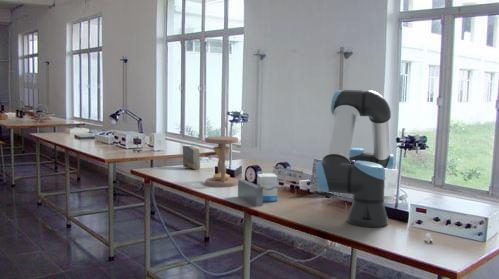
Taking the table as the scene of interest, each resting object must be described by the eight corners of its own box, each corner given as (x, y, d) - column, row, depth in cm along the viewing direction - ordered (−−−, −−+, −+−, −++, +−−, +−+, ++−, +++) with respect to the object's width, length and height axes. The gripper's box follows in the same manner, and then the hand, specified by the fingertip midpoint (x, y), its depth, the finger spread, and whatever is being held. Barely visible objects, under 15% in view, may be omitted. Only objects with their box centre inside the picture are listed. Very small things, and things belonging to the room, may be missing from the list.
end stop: (266, 205, 206) (266, 187, 206) (256, 206, 204) (256, 188, 203) (247, 195, 224) (247, 179, 224) (237, 196, 222) (238, 180, 221)
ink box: (277, 201, 214) (277, 176, 212) (259, 201, 213) (259, 176, 211) (274, 197, 222) (274, 173, 221) (256, 197, 221) (256, 173, 220)
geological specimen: (200, 169, 297) (200, 146, 295) (192, 170, 293) (192, 146, 291) (189, 167, 305) (189, 144, 303) (182, 168, 300) (182, 145, 299)
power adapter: (431, 242, 160) (431, 233, 159) (434, 244, 157) (434, 235, 157) (422, 241, 160) (423, 232, 160) (425, 244, 157) (425, 235, 157)
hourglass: (236, 187, 243) (237, 139, 240) (203, 187, 243) (203, 139, 241) (238, 181, 260) (238, 136, 258) (207, 180, 261) (207, 136, 258)
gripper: (347, 190, 229) (307, 194, 219) (332, 185, 241) (292, 188, 231) (348, 174, 229) (307, 178, 218) (332, 170, 240) (293, 173, 230)
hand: (300, 183), depth 225 cm, fingers closed
